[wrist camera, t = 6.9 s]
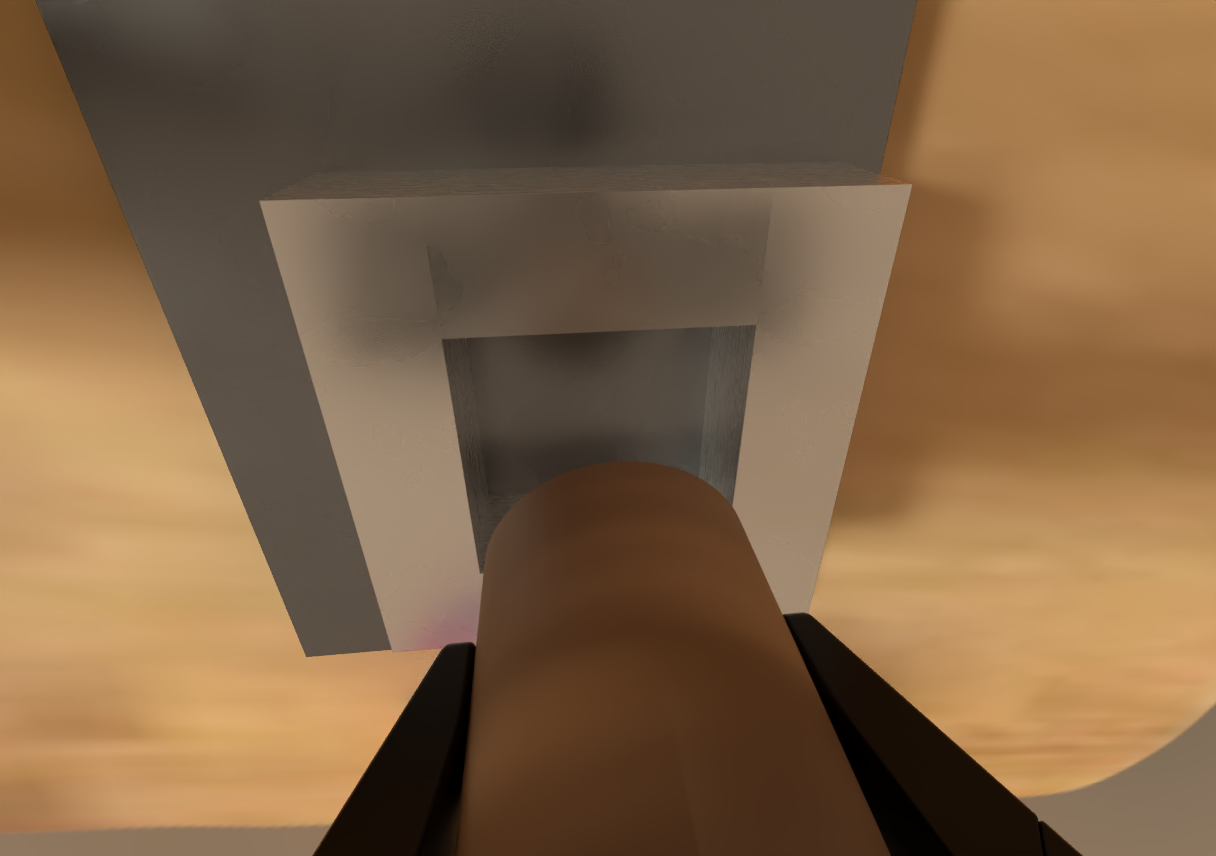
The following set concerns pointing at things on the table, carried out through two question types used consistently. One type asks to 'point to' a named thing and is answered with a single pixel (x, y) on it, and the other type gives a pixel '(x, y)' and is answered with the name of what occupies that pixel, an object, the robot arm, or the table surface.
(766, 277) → the jig
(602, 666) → the walnut dowel
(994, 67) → the table surface
